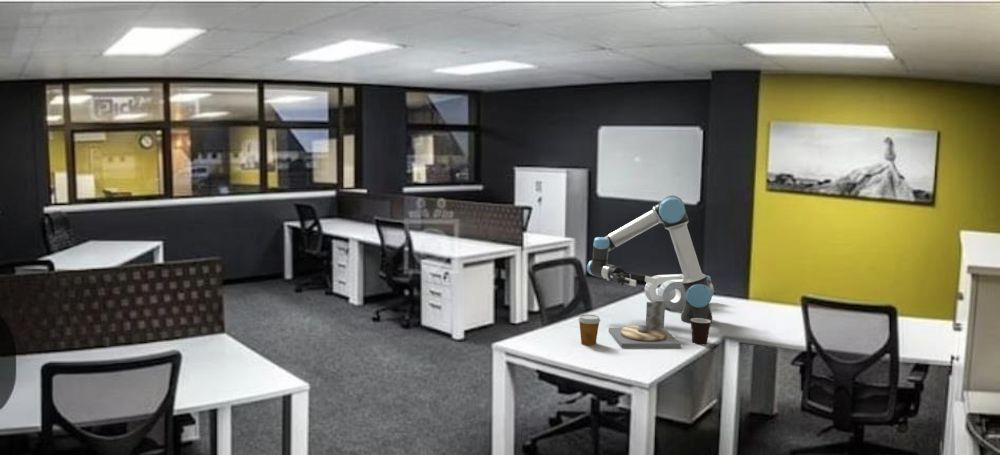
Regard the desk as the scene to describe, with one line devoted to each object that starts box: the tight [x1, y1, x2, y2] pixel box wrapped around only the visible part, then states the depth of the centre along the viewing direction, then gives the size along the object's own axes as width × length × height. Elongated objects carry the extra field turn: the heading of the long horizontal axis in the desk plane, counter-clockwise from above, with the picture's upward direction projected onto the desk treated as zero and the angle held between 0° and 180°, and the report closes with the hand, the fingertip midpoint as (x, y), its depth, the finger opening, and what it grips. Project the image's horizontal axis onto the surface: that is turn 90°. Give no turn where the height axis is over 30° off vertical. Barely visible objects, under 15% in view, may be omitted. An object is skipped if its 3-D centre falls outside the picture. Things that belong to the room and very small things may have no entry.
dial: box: [621, 300, 667, 341], centre depth 320 cm, size 22×20×14 cm
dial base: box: [608, 327, 682, 349], centre depth 320 cm, size 26×26×2 cm
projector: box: [644, 273, 715, 311], centre depth 390 cm, size 35×19×15 cm, turn 108°
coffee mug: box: [690, 318, 711, 346], centre depth 318 cm, size 12×9×10 cm
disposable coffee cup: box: [578, 313, 601, 346], centre depth 312 cm, size 10×10×12 cm
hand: (645, 282), depth 328 cm, fingers open, 13 cm apart
